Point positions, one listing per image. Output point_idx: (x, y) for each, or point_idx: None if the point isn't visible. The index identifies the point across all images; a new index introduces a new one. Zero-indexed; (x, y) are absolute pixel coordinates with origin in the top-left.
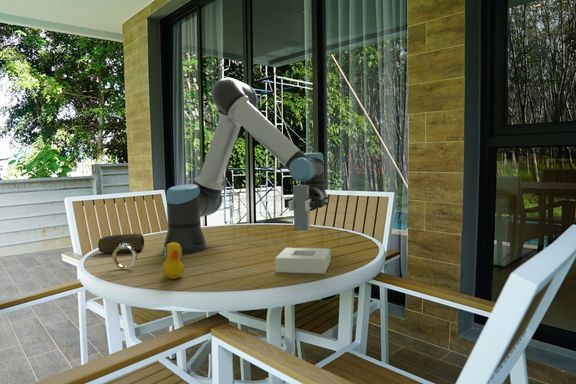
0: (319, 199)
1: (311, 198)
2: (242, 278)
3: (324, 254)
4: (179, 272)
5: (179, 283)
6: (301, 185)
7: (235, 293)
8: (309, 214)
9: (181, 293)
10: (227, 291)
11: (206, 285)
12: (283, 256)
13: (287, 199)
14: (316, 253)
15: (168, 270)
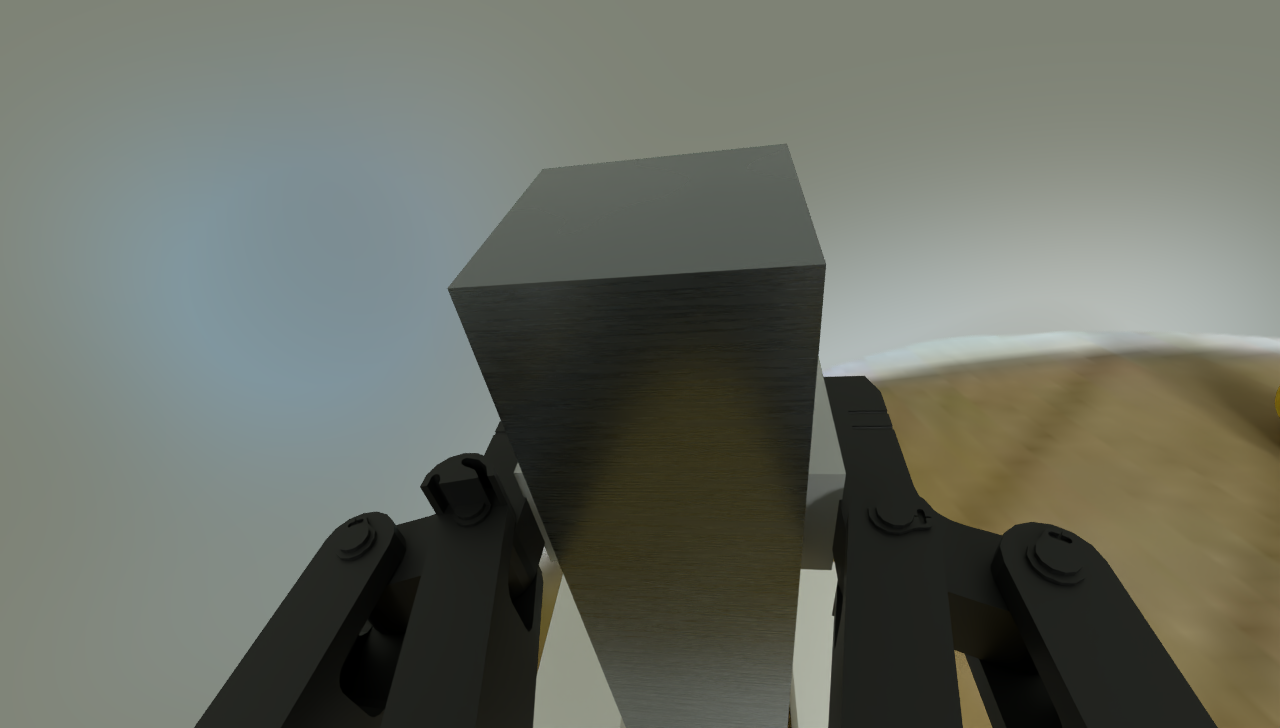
0: (373, 514)
1: (500, 484)
2: (972, 490)
3: (553, 681)
4: (1275, 404)
5: (1203, 406)
6: (636, 228)
7: (879, 359)
8: (596, 644)
9: (1061, 338)
10: (918, 368)
11: (1053, 402)
12: (832, 607)
13: (1045, 593)
14: (608, 717)
15: None
